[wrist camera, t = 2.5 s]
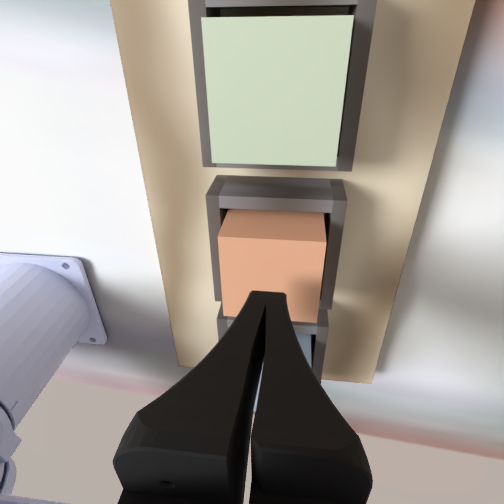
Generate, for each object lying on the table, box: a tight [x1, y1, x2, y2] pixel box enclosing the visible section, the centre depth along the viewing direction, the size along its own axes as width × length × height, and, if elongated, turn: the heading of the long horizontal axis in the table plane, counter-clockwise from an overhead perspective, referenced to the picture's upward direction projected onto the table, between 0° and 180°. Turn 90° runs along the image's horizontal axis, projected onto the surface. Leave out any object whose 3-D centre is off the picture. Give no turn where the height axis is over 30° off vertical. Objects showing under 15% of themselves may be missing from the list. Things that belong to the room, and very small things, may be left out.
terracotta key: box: [218, 208, 326, 323], centre depth 17 cm, size 4×4×3 cm
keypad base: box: [110, 0, 475, 384], centre depth 19 cm, size 14×24×4 cm, turn 0°
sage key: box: [201, 15, 354, 167], centre depth 13 cm, size 4×4×3 cm
